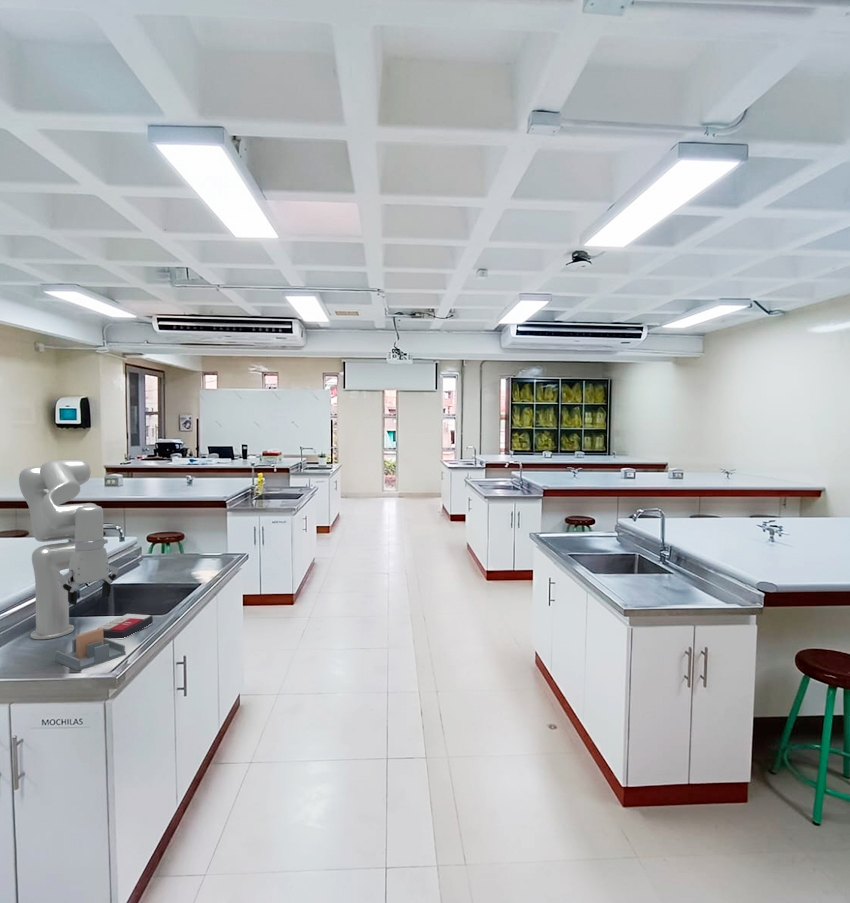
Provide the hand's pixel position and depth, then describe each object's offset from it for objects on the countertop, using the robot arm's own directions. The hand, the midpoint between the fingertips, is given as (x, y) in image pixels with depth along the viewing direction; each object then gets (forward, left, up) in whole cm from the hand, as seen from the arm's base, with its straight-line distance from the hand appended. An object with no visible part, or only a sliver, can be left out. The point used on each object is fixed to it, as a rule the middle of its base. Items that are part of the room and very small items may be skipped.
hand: (89, 599), depth 162 cm
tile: (0, 0, -17) cm, 17 cm away
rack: (0, 0, -18) cm, 18 cm away
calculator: (-15, +19, -19) cm, 30 cm away
